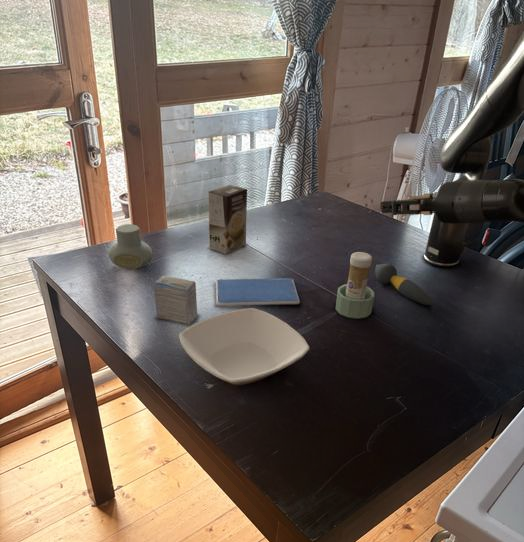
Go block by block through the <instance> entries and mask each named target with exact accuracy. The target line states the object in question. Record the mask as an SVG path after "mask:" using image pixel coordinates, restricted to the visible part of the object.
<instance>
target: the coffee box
mask: <svg viewBox="0 0 524 542" xmlns="http://www.w3.org/2000/svg"><path fill="white" fill-rule="evenodd" d="M247 207H248V188H245V187H241V186H238V185H232V184H228V185H225V186H221V187H219V188H215V189H212V190H209V191H208V235H209V236H208V240H209V241H208V244H209V245H208V246H209V249H210V250H213V251H216V252H219V253H222V254H224V255H227V254H229V253H231V252H234V251H236V250H238V249H239V248H241V247H244V246H245V245H247V215H248V210H247V209H248V208H247Z"/></svg>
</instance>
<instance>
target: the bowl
mask: <svg viewBox="0 0 524 542" xmlns="http://www.w3.org/2000/svg"><path fill="white" fill-rule="evenodd" d="M178 338H179V342H180V345H181V346H182V349H184V351H185V352H186V354H187V355H188V356H189V357H190V358H191V360H193V361H194V363H196V364H197V365H198V366H200V367H201V368H202V369H204V370H205V371H206V372H208V373H209V374H211V375H212V376H214V377H216V378H218V379H220V380H222V381H224V382H227V383H229V384H231V385H234V386H244V385H248V384H252V383H255V382H259V381H261V380H263V379H265V378H268V377H269V376H272V375H274V374H276V373H277V372H279V371H281V370H283V369H285V368H287V367H289V366H291V365H292V364H294V363H295V362H297V361H299V360H300V359H302V358H303V357H304V356H305V355H307V353H308V352H309V351H310V345H309V344H308V343H307V341H306V339H305V338H304V336H303V335H301V334H300V333H299V332H298V331H297V330H296V329H294V328H293V327H292V326H291V325H289V323H286V322H284V321H283V320H282V319H280V318H279V317H276V316H275V315H273V314H271V313H268V312H266V311H265V310H260V309H258V308H255V307H250V308H241V309H236V310H231V311H228V312H223V313H219V314H215V315H213V316H211V317H208V318H205V319H203V320H201V321H198V322H196V323H194V324H192V325H190V326H188V327H187V328H185V329H184V330H182V332H180V333H179V335H178Z"/></svg>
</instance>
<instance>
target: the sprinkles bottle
mask: <svg viewBox="0 0 524 542" xmlns="http://www.w3.org/2000/svg"><path fill="white" fill-rule="evenodd" d="M372 261H373V256H372V255H371V254H370V253H367V252H363V251H356V252H353V253H351V255H350V260H349V265H350V266H349V270H348V271H349V273H348V279H347V283H346V284H347V289H346V297H347V298H349V299H354V300H364V298H365V294H366V288H367V287H368V282H369V275H370V268H371V266H372Z"/></svg>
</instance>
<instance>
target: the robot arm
mask: <svg viewBox="0 0 524 542" xmlns="http://www.w3.org/2000/svg"><path fill="white" fill-rule="evenodd" d="M523 114H524V31H522V33H521V35H520V36H519V39H518V40H517V42H516V44H515V46H514V47H513V49H511V52H510V54H509V55H508V57H507V58H506V59H505V61H504V62H503V64H502V65H501V66H500V68H499V70H498V71H497V72H496V74H495V75H494V76H493V77H492V79H491V80H490V81H489V83H488V84H487V85H486V87H485V88H484V90H483V91H482V93H481V94H480V96H479V98H478V99H477V101H476V102H475V104H474V105H473V107H472V108H471V109H470V111H469V112H468V114H466V116H465V117H464V118H463V119H462V121H460V123H459V124H458V125H457V126H456V127H455V128H454V129H453V130H452V131H451V133H450V134H449V135H448V137H447V138H446V140H445V141H444V143H443V145H442V148H441V150H440V154H439V165H440V167H441V169H442V170H443V171H444V172H446V173H450V174H461V177H459V178H458V179H455V180H453V181H446V182H444V183H442V184H441V185H440V186H439V187H438V189H437V191H433V192H429V193H424V194H422V195H412V196H411V195H410V196H408V197H407V198H406V199H400V198H399V199H396V200H395V199H394V200H384V201H381V202H380V212H381V213H382V214H391V215H393V216H397V215H408V216H416V215H417V216H419V215H423V216H431V215H433V217H432V222H431V226H430V230H429V235H428V239H427V243H426V247H425V251H424V255H423V260H424V261H425V263H427V264H429V265H431V266H434V267H439V268H445V269H446V268H454V267H457V266H458V265H459V262H460V257H461V254H463V253H464V251H465V247H466V242H465V239H466V236H467V233H468V229H469V225H470V224H484V223H509V222H519V223H523V224H524V179H522V178H521V179H519V178H509V179H508V178H507V179H505V178H504V179H492V180H491V179H490V180H489V179H484V177H485V175H486V171H487V169H488V167H489V163H490V160H491V157H492V156H491V155H492V150H493V144H492V143H493V141H492V138H491V137H492V136H494V135H496V134H499V133H501V132H502V131H505V130H506V129H508V128H509V127H511V126H513V124H514V123H516V122H517V121H518V120H519V118H520V117H521V116H522V115H523Z"/></svg>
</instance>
